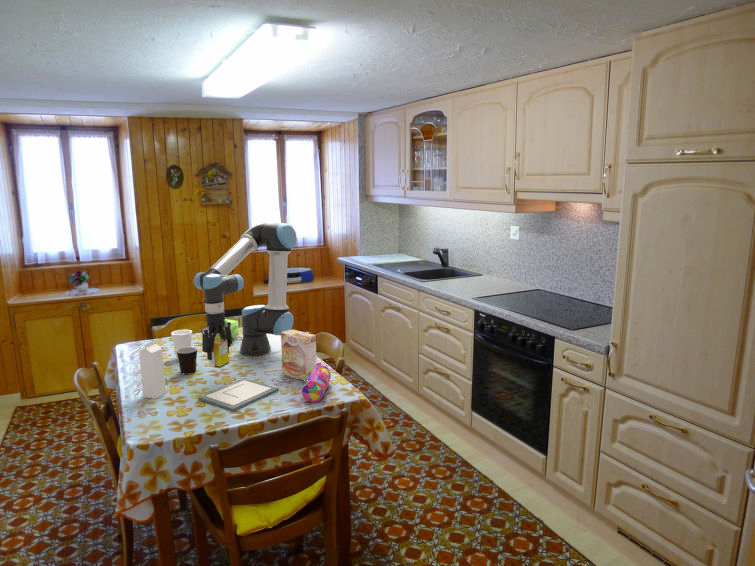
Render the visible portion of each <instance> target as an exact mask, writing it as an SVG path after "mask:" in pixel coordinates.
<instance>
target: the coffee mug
mask: <svg viewBox="0 0 755 566" xmlns="http://www.w3.org/2000/svg"><path fill="white" fill-rule="evenodd" d="M177 355H178V360H177V361H178V366H179V369H180V373H181V374H182V373H184V374H183V375H189V373H191V374H194V373H196V372H197V361H198V359H197V358H198V348H197V347H193V346H191V347H186V348H181V349H179V350H177ZM195 371H196V372H195Z"/></svg>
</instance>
